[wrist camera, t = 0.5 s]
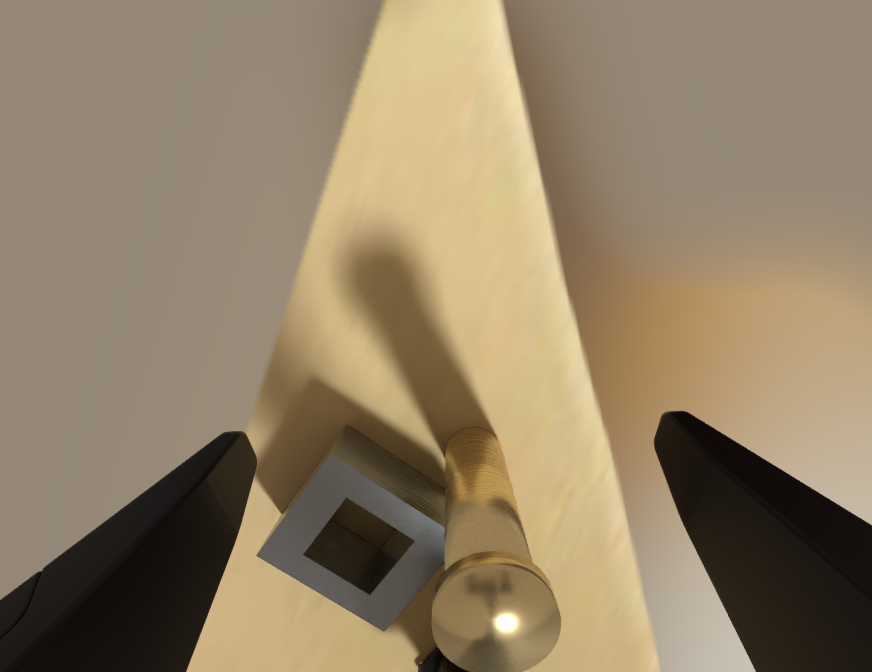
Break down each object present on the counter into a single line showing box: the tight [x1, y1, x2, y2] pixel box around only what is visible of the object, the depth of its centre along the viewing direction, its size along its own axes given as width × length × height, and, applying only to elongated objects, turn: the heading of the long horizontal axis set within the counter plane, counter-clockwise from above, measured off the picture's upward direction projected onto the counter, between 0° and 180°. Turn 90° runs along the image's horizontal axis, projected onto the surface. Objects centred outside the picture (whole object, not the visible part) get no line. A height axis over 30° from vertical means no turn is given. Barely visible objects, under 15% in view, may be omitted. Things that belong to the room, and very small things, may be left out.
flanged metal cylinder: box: [431, 428, 561, 672], centre depth 22 cm, size 5×5×13 cm
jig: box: [256, 425, 445, 631], centre depth 27 cm, size 9×10×4 cm
